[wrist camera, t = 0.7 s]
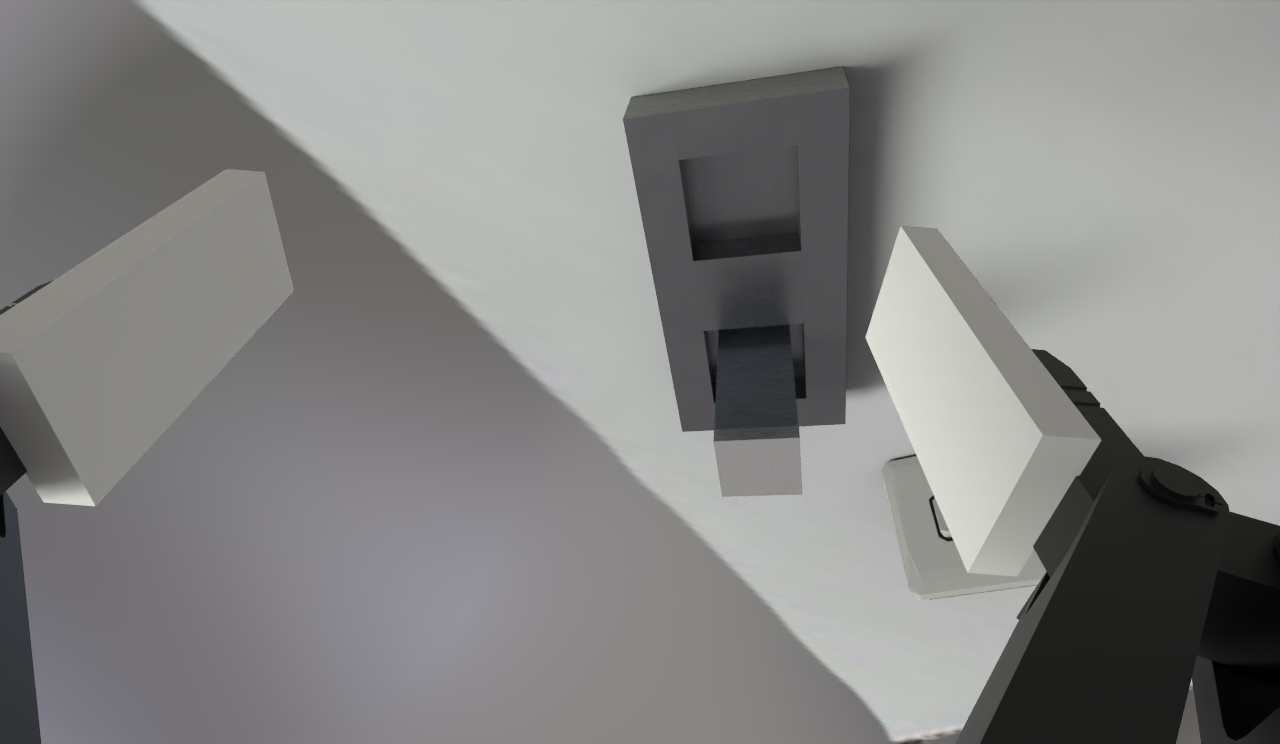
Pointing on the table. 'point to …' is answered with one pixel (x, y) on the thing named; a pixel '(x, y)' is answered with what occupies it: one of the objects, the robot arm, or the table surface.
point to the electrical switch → (937, 541)
